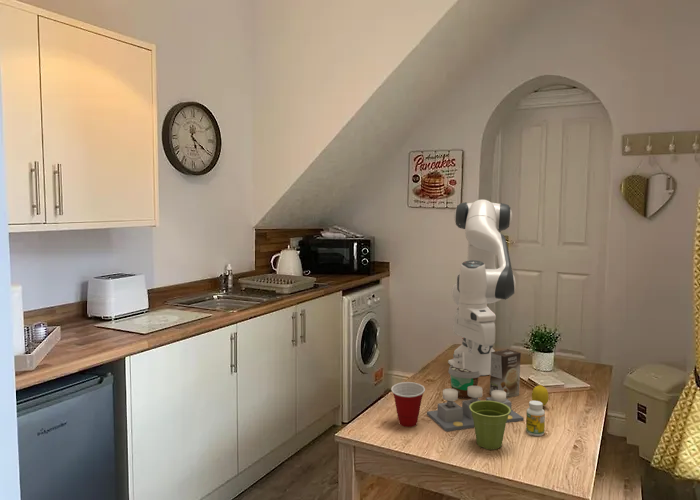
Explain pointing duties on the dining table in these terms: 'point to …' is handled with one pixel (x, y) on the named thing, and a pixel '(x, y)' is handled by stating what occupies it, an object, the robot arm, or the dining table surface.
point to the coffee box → (505, 372)
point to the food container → (462, 380)
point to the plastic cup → (408, 402)
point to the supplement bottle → (535, 419)
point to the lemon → (540, 394)
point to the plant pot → (489, 422)
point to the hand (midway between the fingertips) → (472, 353)
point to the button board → (463, 415)
